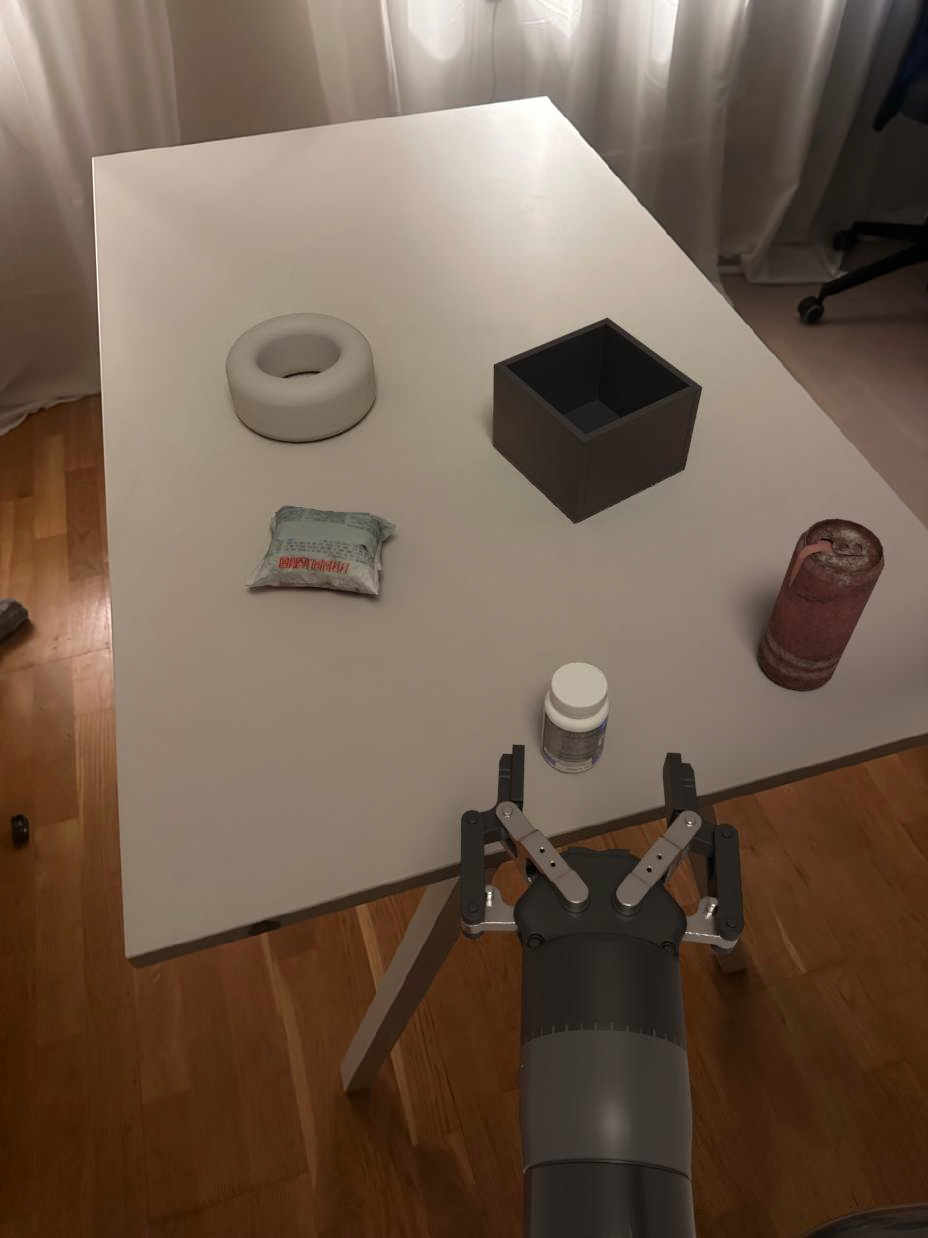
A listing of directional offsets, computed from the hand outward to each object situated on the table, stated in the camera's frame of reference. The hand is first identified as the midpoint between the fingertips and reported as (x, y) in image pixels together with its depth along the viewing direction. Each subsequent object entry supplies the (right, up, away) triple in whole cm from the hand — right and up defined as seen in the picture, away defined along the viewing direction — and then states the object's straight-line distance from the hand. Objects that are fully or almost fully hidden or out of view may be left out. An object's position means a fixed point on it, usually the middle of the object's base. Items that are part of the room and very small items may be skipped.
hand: (593, 755), depth 53 cm
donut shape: (-24, +31, +48) cm, 62 cm away
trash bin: (+5, +24, +42) cm, 48 cm away
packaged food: (-20, +12, +33) cm, 40 cm away
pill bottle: (+1, -2, +20) cm, 20 cm away
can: (+20, +4, +25) cm, 32 cm away
